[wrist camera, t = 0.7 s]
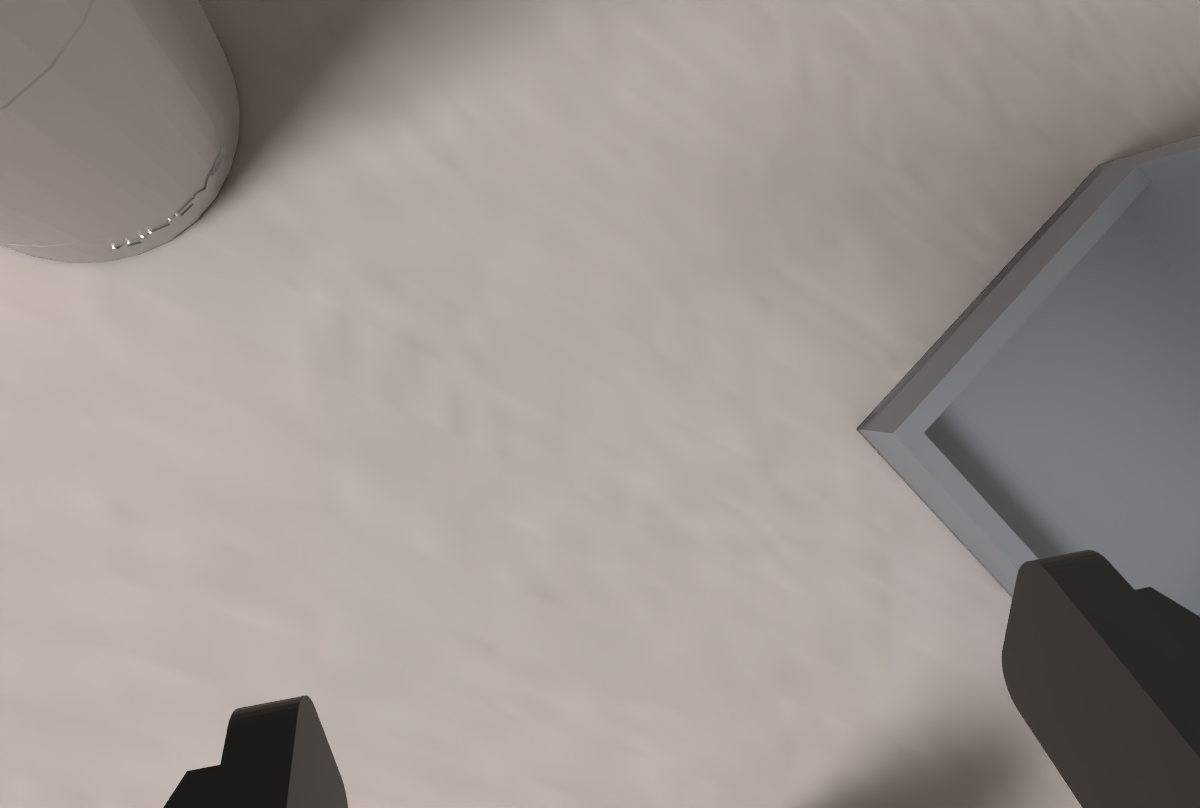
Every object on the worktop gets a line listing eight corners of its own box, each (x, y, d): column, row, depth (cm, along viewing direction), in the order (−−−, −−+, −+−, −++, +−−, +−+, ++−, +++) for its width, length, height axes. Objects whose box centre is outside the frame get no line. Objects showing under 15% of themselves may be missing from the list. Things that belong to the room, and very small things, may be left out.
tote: (856, 429, 35) (950, 439, 29) (1098, 164, 37) (1234, 124, 31) (1122, 716, 38) (1258, 779, 32) (1336, 457, 39) (1501, 471, 34)
